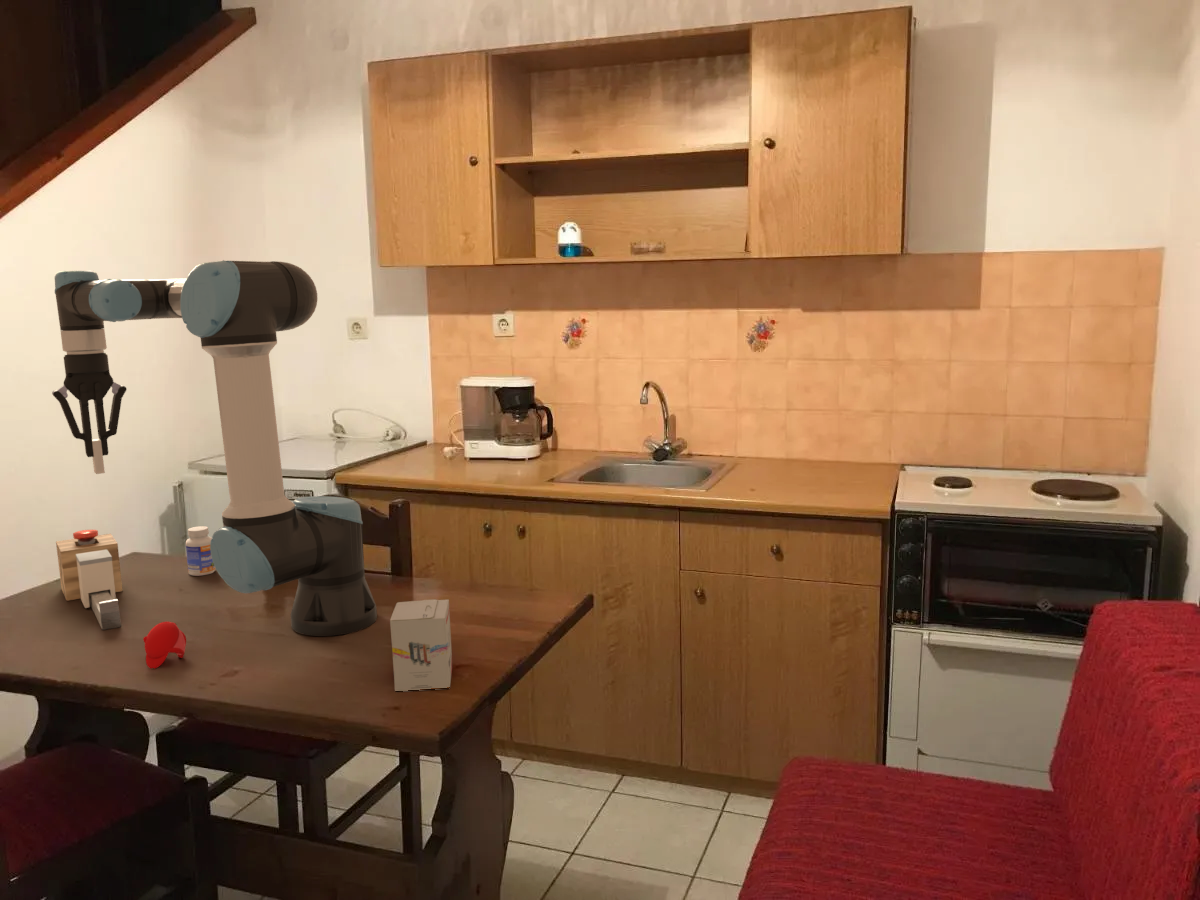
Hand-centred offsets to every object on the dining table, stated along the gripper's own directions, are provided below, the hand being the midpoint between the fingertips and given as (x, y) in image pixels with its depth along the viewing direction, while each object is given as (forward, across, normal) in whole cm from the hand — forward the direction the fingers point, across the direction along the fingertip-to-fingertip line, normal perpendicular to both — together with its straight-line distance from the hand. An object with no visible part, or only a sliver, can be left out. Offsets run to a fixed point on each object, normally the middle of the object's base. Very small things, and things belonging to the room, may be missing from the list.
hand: (99, 472), depth 190 cm
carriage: (+25, +3, +5) cm, 25 cm away
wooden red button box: (+25, +3, -5) cm, 25 cm away
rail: (+25, +4, +11) cm, 27 cm away
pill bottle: (+25, -18, -4) cm, 31 cm away
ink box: (+27, -33, +76) cm, 87 cm away
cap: (+26, -1, +43) cm, 50 cm away
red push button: (+17, +3, -5) cm, 18 cm away
